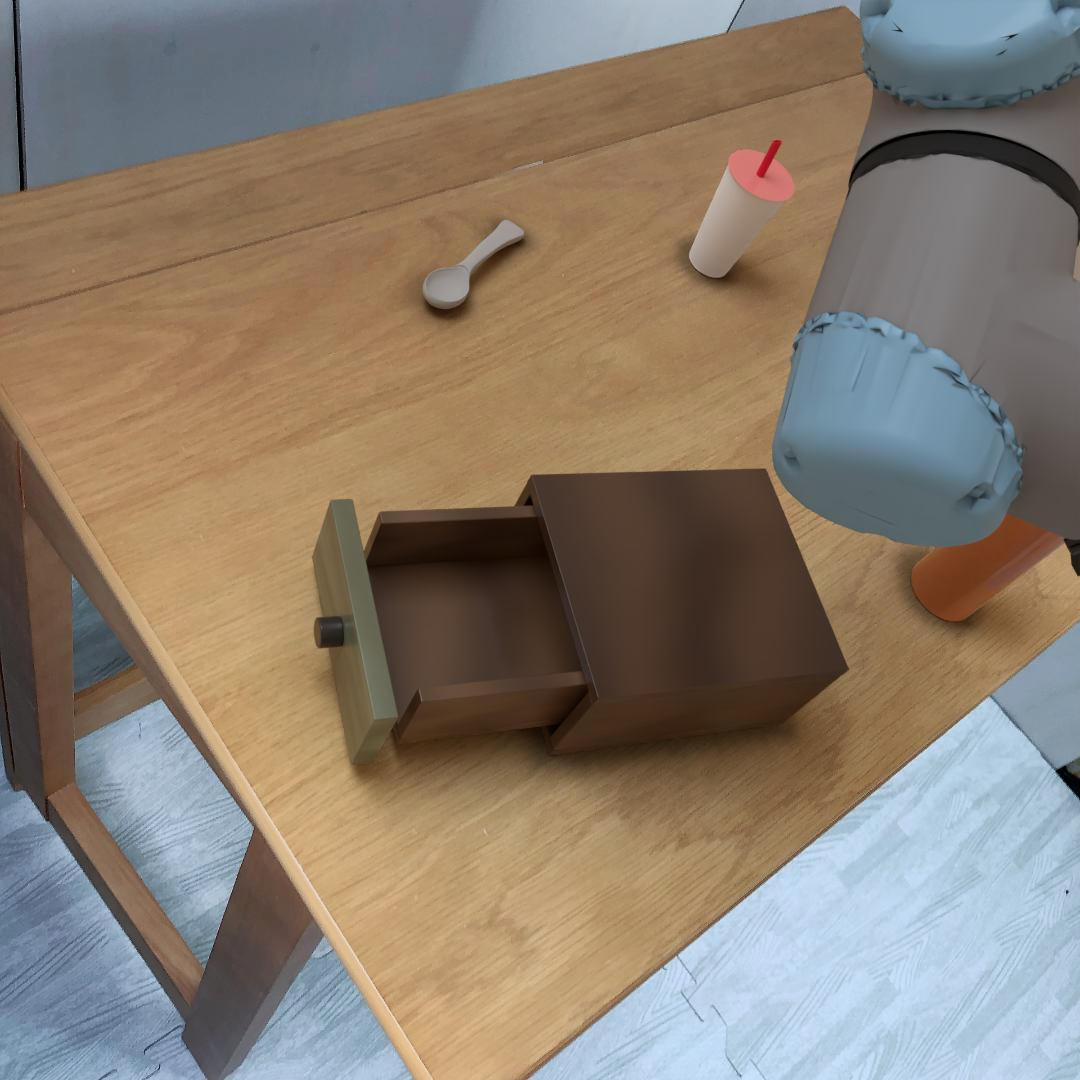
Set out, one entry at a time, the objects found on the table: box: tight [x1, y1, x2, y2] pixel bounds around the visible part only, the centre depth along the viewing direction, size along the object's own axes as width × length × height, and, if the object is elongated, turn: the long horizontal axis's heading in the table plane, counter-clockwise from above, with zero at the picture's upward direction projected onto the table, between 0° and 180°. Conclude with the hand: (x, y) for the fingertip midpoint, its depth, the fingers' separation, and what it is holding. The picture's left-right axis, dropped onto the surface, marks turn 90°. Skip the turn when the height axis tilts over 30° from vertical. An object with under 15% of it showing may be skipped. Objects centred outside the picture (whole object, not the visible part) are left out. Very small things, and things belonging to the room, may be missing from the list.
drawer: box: [311, 498, 589, 766], centre depth 62 cm, size 16×12×6 cm
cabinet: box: [513, 467, 850, 756], centre depth 67 cm, size 16×14×8 cm
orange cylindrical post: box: [910, 513, 1065, 622], centre depth 75 cm, size 5×5×14 cm
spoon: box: [422, 219, 525, 310], centre depth 82 cm, size 3×12×2 cm, turn 149°
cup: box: [688, 139, 796, 279], centre depth 87 cm, size 5×5×12 cm
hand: (1042, 457), depth 65 cm, fingers open, 13 cm apart
